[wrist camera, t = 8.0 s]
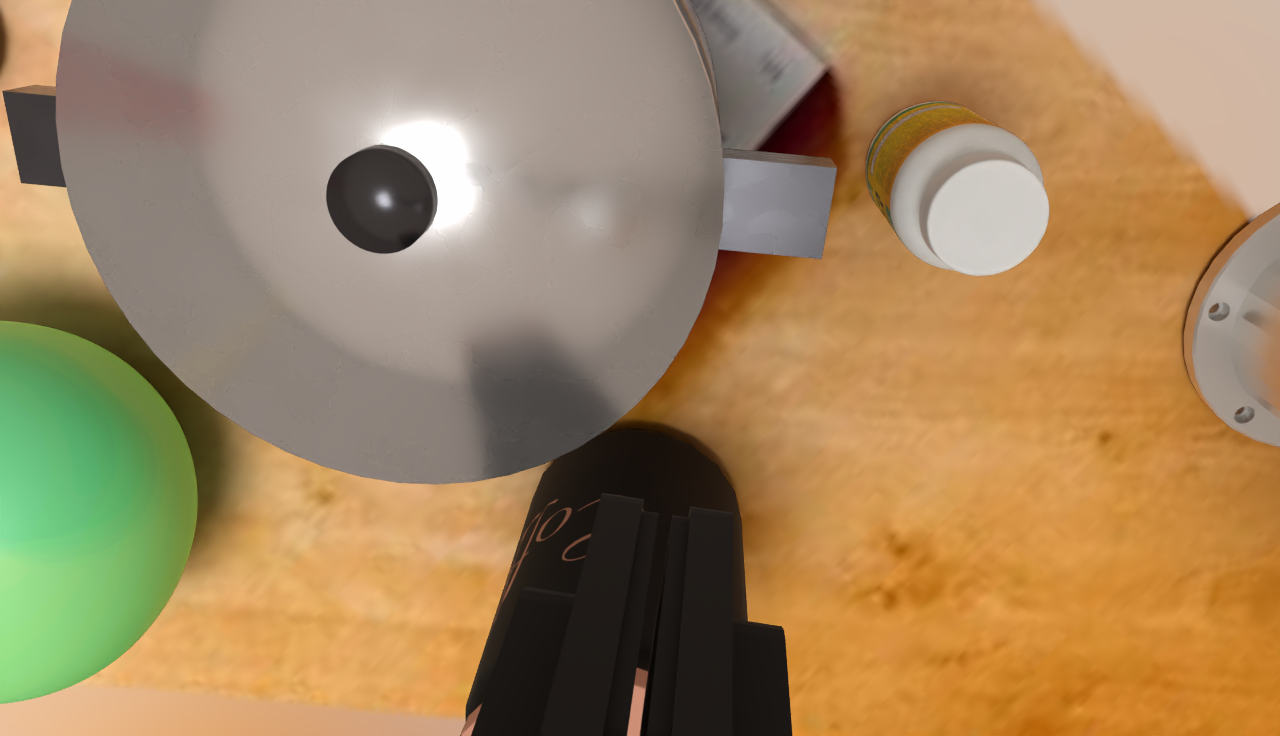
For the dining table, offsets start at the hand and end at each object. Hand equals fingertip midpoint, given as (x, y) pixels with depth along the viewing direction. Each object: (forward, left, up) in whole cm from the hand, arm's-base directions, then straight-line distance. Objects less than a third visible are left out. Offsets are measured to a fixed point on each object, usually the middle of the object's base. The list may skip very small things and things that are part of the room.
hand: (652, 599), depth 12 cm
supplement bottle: (-10, 0, -31) cm, 32 cm away
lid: (+9, 0, -18) cm, 20 cm away
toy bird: (+30, +18, -31) cm, 46 cm away
